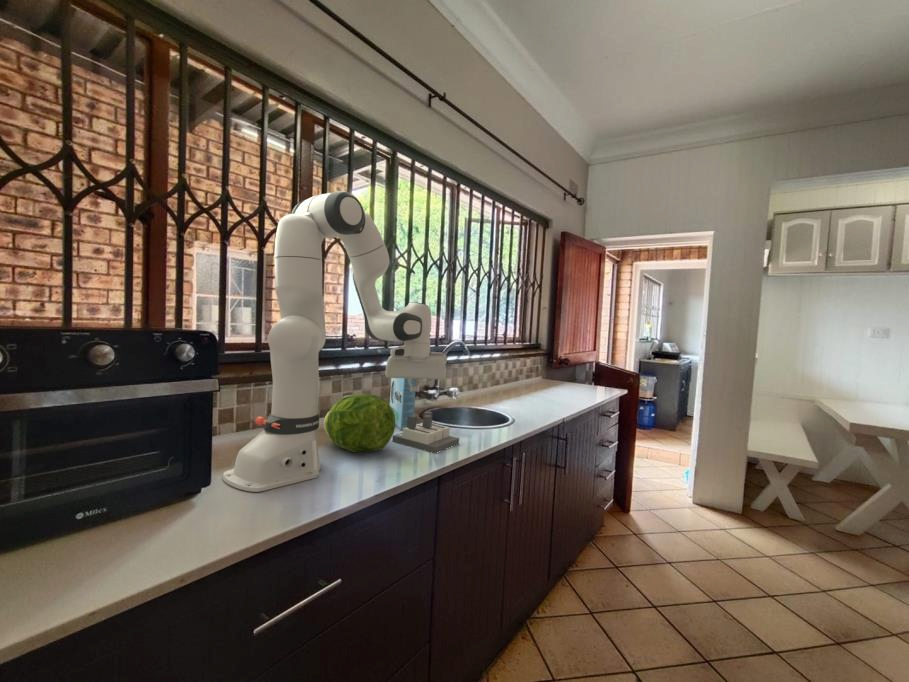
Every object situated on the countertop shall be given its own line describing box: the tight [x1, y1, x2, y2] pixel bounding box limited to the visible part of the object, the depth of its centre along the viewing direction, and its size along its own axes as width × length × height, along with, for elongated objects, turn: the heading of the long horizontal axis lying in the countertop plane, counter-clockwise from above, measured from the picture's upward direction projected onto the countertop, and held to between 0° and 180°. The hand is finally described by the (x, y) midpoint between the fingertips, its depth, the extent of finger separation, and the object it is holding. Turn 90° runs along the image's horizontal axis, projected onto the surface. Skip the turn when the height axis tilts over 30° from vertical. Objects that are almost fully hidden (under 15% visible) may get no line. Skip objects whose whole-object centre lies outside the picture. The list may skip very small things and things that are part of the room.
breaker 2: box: [423, 411, 434, 417], centre depth 139 cm, size 2×2×4 cm
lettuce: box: [323, 393, 396, 454], centre depth 122 cm, size 17×23×17 cm
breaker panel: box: [391, 422, 460, 454], centre depth 134 cm, size 14×17×5 cm
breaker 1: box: [407, 415, 418, 429], centre depth 131 cm, size 2×2×4 cm
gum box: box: [389, 378, 417, 431], centre depth 156 cm, size 20×5×23 cm, turn 22°
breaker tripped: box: [422, 415, 433, 428], centre depth 134 cm, size 2×2×4 cm
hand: (414, 391), depth 137 cm, fingers closed
